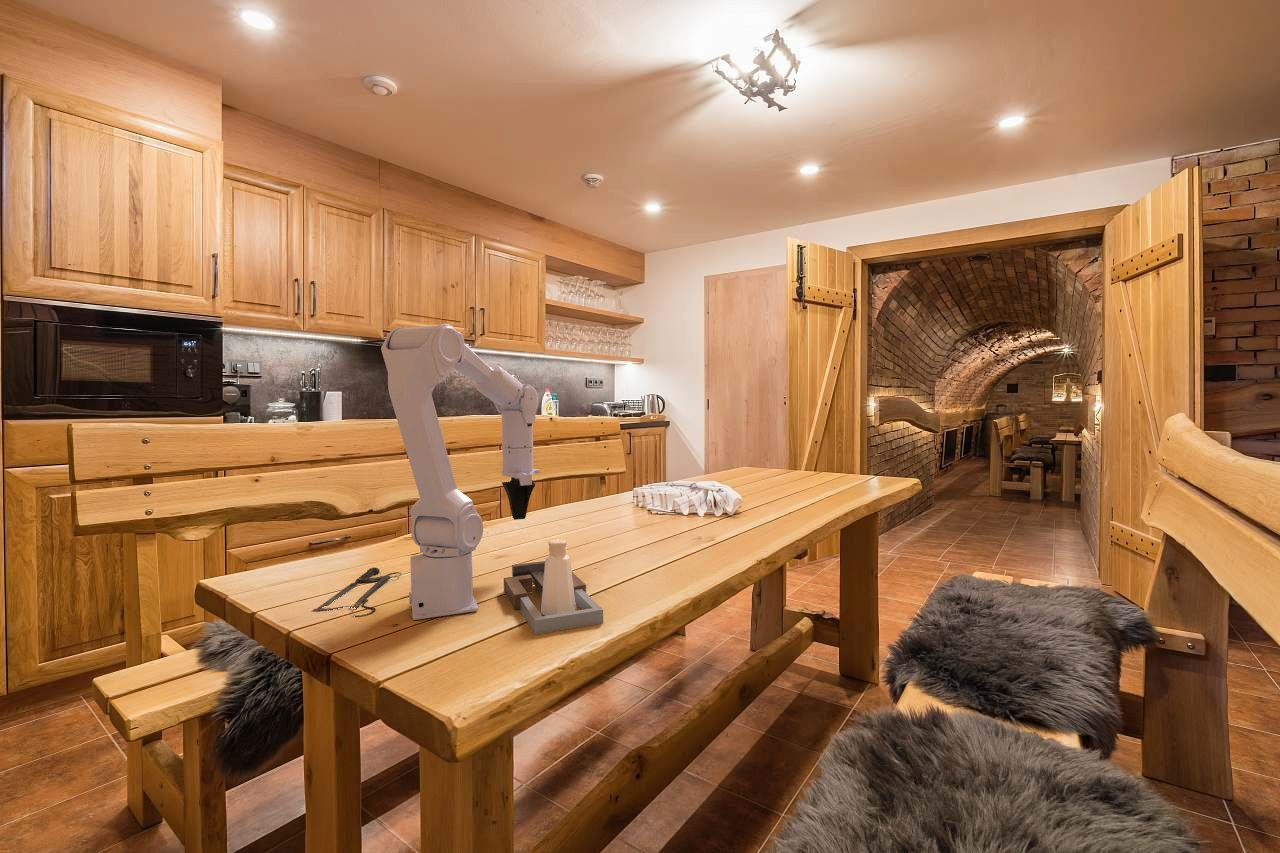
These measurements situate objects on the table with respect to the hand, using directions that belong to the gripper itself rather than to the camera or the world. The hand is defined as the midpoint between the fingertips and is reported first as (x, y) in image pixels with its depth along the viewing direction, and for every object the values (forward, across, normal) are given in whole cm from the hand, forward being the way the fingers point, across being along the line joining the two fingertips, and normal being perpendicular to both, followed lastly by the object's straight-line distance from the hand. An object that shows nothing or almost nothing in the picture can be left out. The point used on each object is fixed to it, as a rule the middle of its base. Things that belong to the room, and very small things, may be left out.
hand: (519, 518), depth 109 cm
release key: (+9, -15, -1) cm, 18 cm away
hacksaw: (+11, 0, +26) cm, 28 cm away
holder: (+10, -16, -1) cm, 19 cm away
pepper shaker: (+11, -23, -1) cm, 25 cm away
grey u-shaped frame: (+10, -25, -1) cm, 27 cm away
